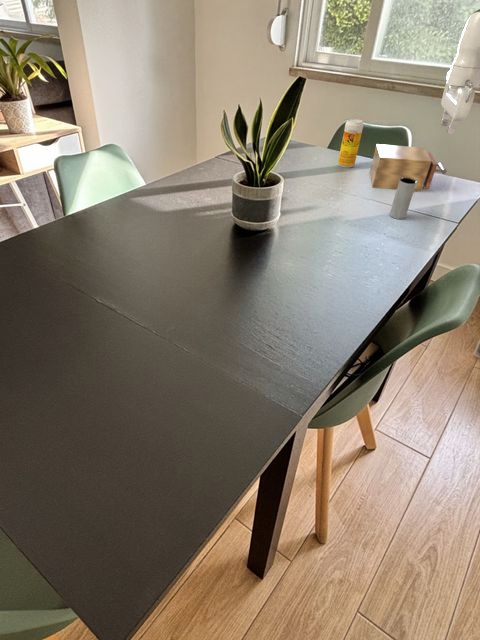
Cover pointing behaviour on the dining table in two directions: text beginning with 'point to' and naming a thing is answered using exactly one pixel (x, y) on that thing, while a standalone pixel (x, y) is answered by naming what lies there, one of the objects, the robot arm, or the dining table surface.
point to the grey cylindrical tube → (403, 198)
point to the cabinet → (398, 166)
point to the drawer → (433, 170)
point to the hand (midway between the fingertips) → (446, 129)
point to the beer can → (350, 143)
